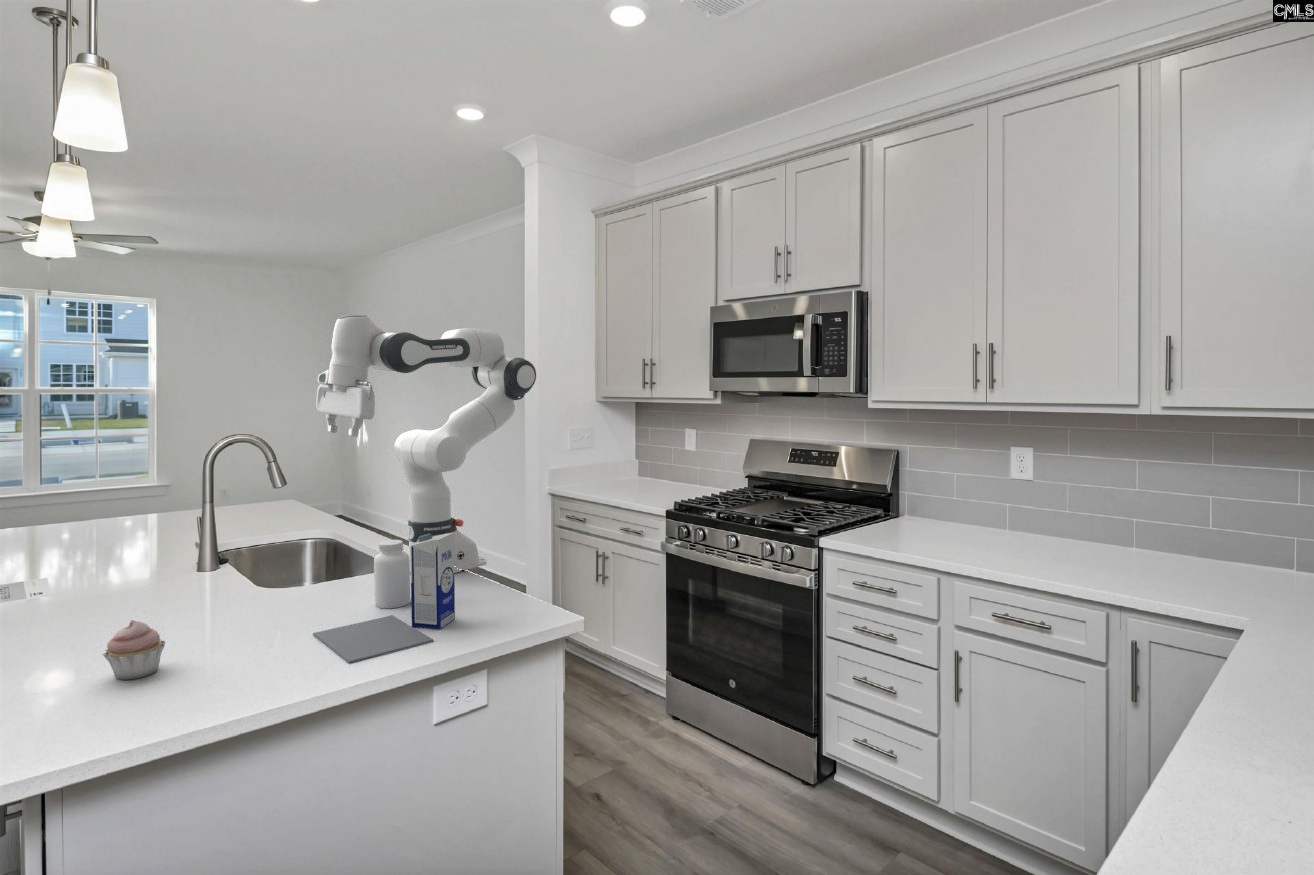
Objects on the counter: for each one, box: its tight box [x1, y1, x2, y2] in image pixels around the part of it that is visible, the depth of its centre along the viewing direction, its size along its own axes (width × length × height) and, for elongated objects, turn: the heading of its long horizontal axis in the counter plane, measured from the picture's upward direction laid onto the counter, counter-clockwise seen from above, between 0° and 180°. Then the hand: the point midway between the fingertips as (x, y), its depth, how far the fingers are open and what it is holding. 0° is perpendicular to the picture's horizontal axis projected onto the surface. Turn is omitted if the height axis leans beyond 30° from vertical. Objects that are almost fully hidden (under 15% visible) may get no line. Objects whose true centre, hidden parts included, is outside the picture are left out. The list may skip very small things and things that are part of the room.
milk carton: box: [410, 533, 456, 631], centre depth 156 cm, size 7×7×20 cm
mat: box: [312, 614, 434, 664], centre depth 148 cm, size 17×20×1 cm
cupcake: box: [102, 619, 167, 681], centre depth 129 cm, size 9×9×10 cm
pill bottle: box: [373, 539, 411, 609], centre depth 170 cm, size 8×8×15 cm
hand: (342, 434), depth 177 cm, fingers open, 8 cm apart
